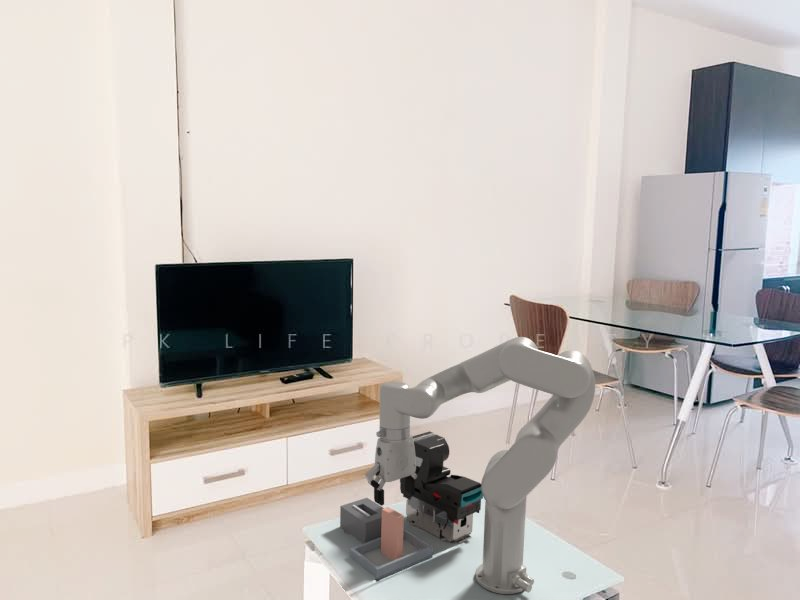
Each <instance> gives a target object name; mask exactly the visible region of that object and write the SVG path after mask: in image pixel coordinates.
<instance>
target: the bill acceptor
mask: <svg viewBox="0 0 800 600" xmlns="http://www.w3.org/2000/svg"><path fill="white" fill-rule="evenodd" d="M412 437H413V441H414V446H415V455H416V456H417V457H419V458H422V459H423V461H422V463H421V466H420V470H419V472H418V473H417V478H416V479H415V494H414V495H411V494H410V493H408V492H406V491H405V477H404V478H401V479H399V483H400V486H399V489H400V493H401V494H402V497H403V498H405V499H406V501H405V503H406V505H405V516H406V520H407V521H409V522H410V525H412V526H416V527H417V528H420V529H422V530H424V531H425V532H428V534H429V533H430V534H432V536H433V535H434V536H436V537H437V538H439V540H441V541H443V542H446V541H447V542H449V543H452V542H453V543H458V544H462V543H463V542H465V541H467V540H468V539H471V538H472V536H471V535H472V532H473V527H474V526H473V524H474V514H475V513H477V514H480V511H481V506H482V505H481V504H482V499H484V497H483V495H482V491H481V482H478V481H476V480H474V479H471V478H469V477H466V476H462V475H457V474H451V469H450V468H449V467H446V466H444V463H445V461H447V460H448V458H449V457H450V446H449V444H448V442H447V440H446V439H445V437H443V436H440V435H438V434H435V433H434V432H432V431H429V430H428V431H427V432H423V433H420V434H415V435H412Z"/></svg>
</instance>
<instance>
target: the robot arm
mask: <svg viewBox="0 0 800 600" xmlns="http://www.w3.org/2000/svg"><path fill="white" fill-rule="evenodd" d="M510 381H512V382H514V383H517V384H518V385H521V386H525V387H528V388H530V389H534V390H537V391H539V392H543V393H547V394H549V395H551V397H550V398H549V399H548V400H547V401H546V402H545V404H544V405H543V406H542V407H541V408H540V410H539V411H538V412H537V413H535V415H533V417H532V418H531V419H530V420H528V421H527V422H526V424H524V426H522V427H521V428H520V429H519V431H518V432H517V435H516V438H515V440H514V443H513V444H511V447H509V448H508V449H504V450H503V449H502V450H500V451H498V452H496V453H495V454H493V455H492V456H491V458H490V459H489V460H488V463H487V465H486V467H485V471H484V473H483V476H482V480H481V482H480V483H481V491H482V495H483V499H484V501H485V502H484V503H485V506H484V523H483V525H484V526H483V545H482V547H483V549H482V563H481V564H480V565H478V567H477V568H476V570H475V580H476V581H477V583H478V584H479V585H480V586H481V587H482V588H484V589H486V590H487V591H490V592H492V593H496V594H500V595H513V594H518V593H521V592H526V593H530V592H531V591H532V588H533V585H534V583H535V579H533V578H532V577H530V576H529V574H528V573H527V566H525V565H523V564H524V547H525V531H526V529H525V528H526V527H525V526H526V512H527V511H526V510H527V499H528V498H527V497H528V496H529V494H531V492H533V490H534V489H536V487H537V486H538V485H539V484H541V482H542V481H543V480H544V479H545V478H546V477H547V476H548V475H549V473H551V472H552V470H553V469H554V467H555V465H556V462H557V459H558V453H559V449H560V447H561V446H562V444H563V443H564V442H566V440H567V439H568V438H569V437H570V436H571V434H572V433H573V432H574V431H575V430H576V428H578V427H579V425H580V424H582V422H583V421H584V419H585V418H586V417H587V415H588V413H589V412H590V409H591V407H592V406H593V403H594V398H595V395H596V379H595V374H594V369H593V367H592V365H591V363H590V360H589V359H588V358H587V356H585V354H583V353H582V352H580V351H578V350H574V349H573V350H572V349H568V350H564V351H563V352H560V353H559V354H558V355H556V354H553V353H550V352H546V351H543V350H539V347H537V345H536V344H535V342H534V341H533V340H532V339H530V338H528V337H525V336H518V337H517V336H516V337H514V338H511V339H509V340H506V341H505V342H502V343H500V344H499V345H495V346H493V347H492V348H490V349H488V350H485V351H483V352H481V353H479V354H476V355H475V356H473V357H471V358H469V359H466V360H464V361H462V362H460V363H458V364H456V365H455V364H454V365H453V366H450V367H449V368H445V369H444V370H442V371H439V372H437V373H436V374H434V375H431V376H430V377H427V378H425V379H424V380H422V381H420V382H419V383H418V384H417V385H416V386H413V387H410V386H409V385H408V384H407V383H406V382H404V381H393V380H392V381H387V382H383V383H382V384H381V385H380V387H379V393H378V395H379V430H378V431H377V432H376V437H378V438H377V441H376V447H375V454H374V465H373V466H372V467H371V468H370V469H369V470H368V471H367V472H366V473H365V474H364V476H365V478H366V481H367V483H368V485H371V487H372V488H373V499H374V502H375V503H376V504H378V505H380V506H381V507H383V506H384V505H385V490H384V486H385V484H386V483H391V482H395V481H398V480H400V479H401V478H404V477H405V491H406V492H408V493H410V494H411V495H414V494H415V479H416V478H417V473H418V472H419V470H420V466H421V463H422V461H423V459H422V458H419V457H417V456H416V455H415V446H414V441H413V437H412V436H413V435H412V434H411V418H416V419H420V420H422V419H428V418H430V417H431V416H433V415H434V414H435V412H436V411H437V410H438V409H439V408H440V406H441V405H442V404H445V403H447V402H449V401H451V400H454V399H456V398H458V397H460V396H463V395H465V394H468V393H475V394H476V393H477V394H482V393H486V392H489V390H492V389H494V388H497V387H499V386H500V385H501V386H502V385H503V384H506V383H507V382H510ZM374 476H375V478H374Z"/></svg>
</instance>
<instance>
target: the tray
mask: <svg viewBox="0 0 800 600" xmlns="http://www.w3.org/2000/svg"><path fill="white" fill-rule="evenodd" d="M403 539H405V540H406V541H408V542H409V543H410V544H412V545H414V546H415V547H417V548H418V550H416V551H413V552H410V553H409V554H406V555H404V556H403V557H401V558H398V559H396V560H392V561H390V562H387V563H384V564H381V565H379V566H377V565H376V564H375V563H373V562H372V561H371V560H369V559H368V558H366V557H365V556H364V555H363V554H366V553H367V552H371V551H372V550H375V549H378V548H381V537H380V538H377V539H375V540H372V541H369V542H367V543H364V544H363V543H361V544H359V545H355V546H354V547H350V548H349V557H350V558H351V559H352V560H354V561H355V563H358V565H360V566H361V567H362V568H364V569H365V570H366V571H368V572H369V573H370V574H372V575H373V576H374V577H375V579H373V580H374V581H376V582H379V581H381V580H383V579H386V578H389V577H390V576H392V575H394V574H397V573H400V572H402V571H405V570H407V569H409V568H411V567H414V566H416V565H419V564H422V563H423V562H425V561H427V560H430V559H432V558H433V550H434V549H433V548H434V546H432V544H429V543H427V542H426V541H425V540H424V539H422V538H420V537H418V536H417V535H415V534H413V533H412V532H411V531H409V530H407V529H406V528H403Z"/></svg>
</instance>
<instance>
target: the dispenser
mask: <svg viewBox="0 0 800 600" xmlns="http://www.w3.org/2000/svg"><path fill="white" fill-rule="evenodd" d="M339 508H340V512H339V514H340V516H339V517H340V518H339V519H340V522H339V523H340V524H339V527H340V528H341V529H343V530H344V531H345V532H347V533H348V534H349V535H350V536H353V538H355V539H356V540H357V541H359V542H361V544H364V543H367V542H369V541H372V540H375V539H377V538H380V537H381V526H382V509H384V508H385V507H383V506H381V505H379V504H378V503H376V502H375V501H373V500H371V499H370V498H368V497H364V498H362V499H358V500H354V501H352V502H349V503H345V504H342V505H340V507H339Z"/></svg>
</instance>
